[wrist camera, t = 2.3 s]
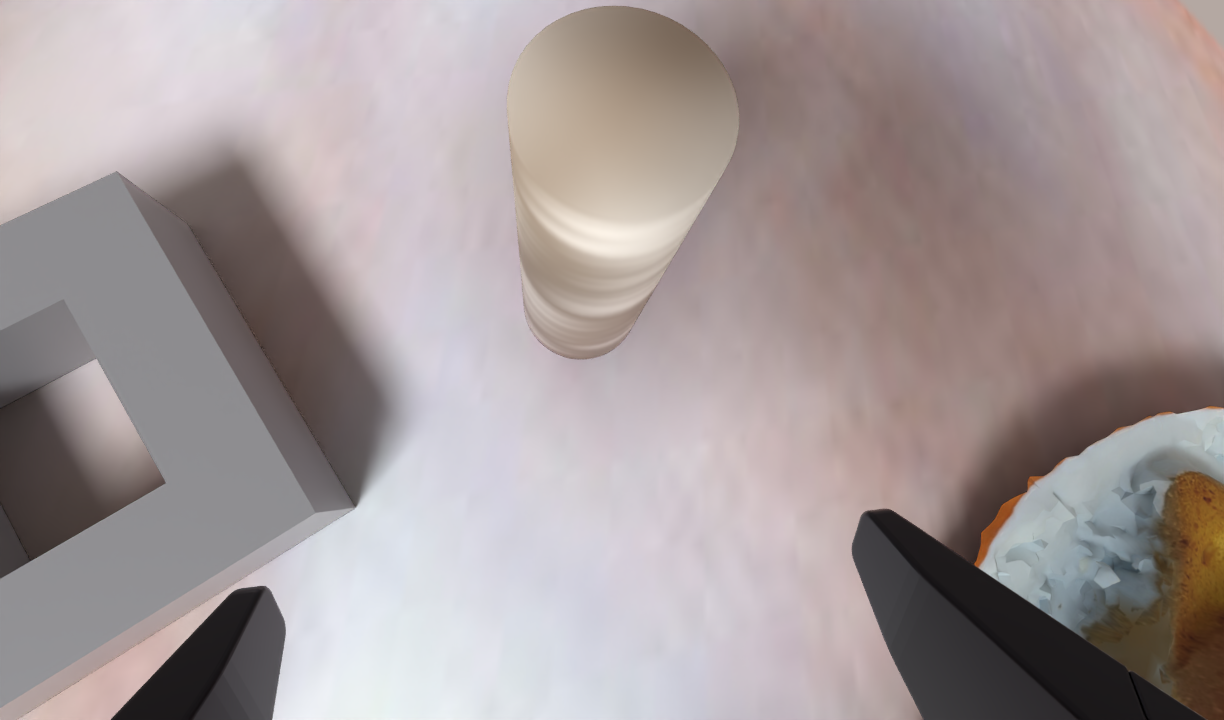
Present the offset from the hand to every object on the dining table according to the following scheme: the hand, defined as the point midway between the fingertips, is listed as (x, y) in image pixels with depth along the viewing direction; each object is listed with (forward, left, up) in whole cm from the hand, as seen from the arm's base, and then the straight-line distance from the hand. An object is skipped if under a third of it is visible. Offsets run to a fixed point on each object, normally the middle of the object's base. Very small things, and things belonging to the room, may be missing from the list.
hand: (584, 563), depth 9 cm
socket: (+15, +6, -13) cm, 21 cm away
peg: (+4, -7, -14) cm, 16 cm away
